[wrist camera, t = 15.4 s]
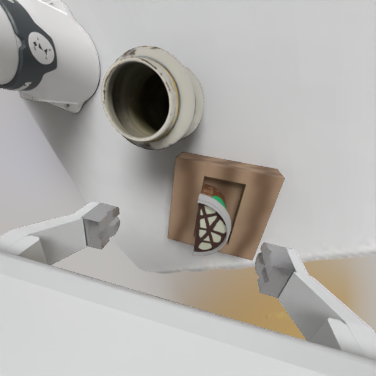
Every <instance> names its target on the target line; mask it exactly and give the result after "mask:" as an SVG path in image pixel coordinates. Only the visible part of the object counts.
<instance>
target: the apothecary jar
mask: <svg viewBox="0 0 376 376" xmlns="http://www.w3.org/2000/svg"><path fill="white" fill-rule="evenodd" d="M101 96H102V104H103V108H104V111H105V113H106V116H107V118H108V119H109V121H110V123H111V124H112V126H113V127H114V128H115V129H116V130H117V131H118V132H119V133H120V134H122V135H123V136H124V137H125V138H126V139H127V140H128V141H130V142H131V143H133V144H134V145H136V146H138V147H141V148H144V149H150V150H159V149H164V148H167V147H170V146H172V145H173V144H175V143H176V142H178V141H179V140H180V139H183V138H185V137H187V136H189V135H190V134H191V133H192V132H193V131H194V130H195V129H196V128H197V127H198V125H199V123H200V121H201V119H202V116H203V112H204V94H203V90H202V87H201V84H200V82H199V80H198V79H197V77H196V76H195V75H194V74H193V73H192V72H191V71H190V70H189V69H188V68H186V67H185V66H183V65H182V64H181V63H180V62H179V61H178V60H177V59H176V58H175V57H174V56H173V55H172V54H170V53H169V52H167V51H165V50H163V49H160V48H157V47H152V46H141V47H136V48H133V49H130V50H129V51H127V52H125V53H124V54H123V55H121V56H120V57H119V58H118V59H117V60H116V62H115V63H114V64H113V65H112V66H111V67H110V68H109V69H108V71H107V72H106V74H105V76H104V79H103V83H102V89H101Z"/></svg>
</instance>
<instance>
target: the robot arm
mask: <svg viewBox="0 0 376 376" xmlns="http://www.w3.org/2000/svg"><path fill="white" fill-rule="evenodd" d="M99 76H100V66H99V59H98V55H97V52H96V49H95V46H94V44H93V42H92V40H91V38H90V37H89V35H88V34H87V33H86V31H85V30H84V29H83V28H82V27H81V26H80V25H79V24H78V23H77V22H76V21H75V20H74V19H73V17H72V15H71V13H70V11H69V9H68V8H67V6H66V5H65V4H64V3H63V2H61V1H59V0H53V1H49V2H43V1H41V0H0V88H3V89H8V90H14V91H19V92H20V96H21V98H24V99H29V100H34V101H39V102H42V101H44V102H47V103H50V104H52V105H55V106H58V107H60V108H63V109H65V110H68V111H70V112H74V113H78V112H79V111H80V109H81V107H82V105H83V103H84V102H85V101H86V100H87V99H89V98H90V97H91V96H92V95H93V93H94V92H95V90H96V88H97V86H98V82H99ZM69 105H70V106H69ZM118 215H119V208H118V207H115V206H111V205H108V204H104V203H100V202H96V201H91V202H90V203H89V204H87V205H86V206H84V207H83V208H81V209H80V210H78V211H77V212H75V213H74V214H72V215H66V216H62V217H58V218H54V219H50V220H46V221H42V222H38V223H34V224H30V225H26V226H23V227H19V228H15V229H12V230H10V231H8V232H6V233H5V234H3V235H1V236H0V376H376V334H375V332H374V331H373V329H372V328H371V327H369V326H368V325H367V324H366V323H365V322H364V321H363V320H361V319H360V318H359V317H358V316H357V315H356V314H355V313H354V312H352V311H351V310H350V309H349V308H348V307H347V306H346V305H344V304H343V303H342V302H341V301H340V300H339V299H338V298H336V297H335V296H334V295H333V294H332V293H331V292H329V291H328V290H327V289H326V288H325V287H324V286H323V285H322V284H320V283H319V282H318V281H317V280H316V279H314V277H311V276H309V274H308V272H307V270H306V268H305V267H304V264H303V263H302V261H301V259H300V257H299V255H298V253H297V251H296V250H295V249H292V248H287V247H281V246H277V245H273V244H268V243H263V244H262V246H261V253H259V254H258V255H257V258H256V262H255V270H256V273H257V275H258V276H259V278H258V286H259V291H260V293H263V294H266V295H269V296H273V297H276V298H278V300H279V301H280V303H281V304H282V305H283V307H284V308H285V310H286V311H287V313H288V314H289V316H290V317H291V319H292V320H293V321H294V323H295V324H296V326H297V327H298V328H299V330H300V331H301V333H302V334H303V335H304V337H305V338H306V340H307V341H306V340H303V339H299V338H296V337H293V336H289V335H286V334H282V333H279V332H275V331H272V330H269V329H265V328H262V327H258V326H255V325H252V324H248V323H245V322H241V321H238V320H235V319H231V318H228V317H224V316H221V315H217V314H214V313H211V312H208V311H204V310H201V309H197V308H194V307H190V306H187V305H184V304H180V303H177V302H174V301H170V300H167V299H163V298H160V297H157V296H153V295H150V294H146V293H143V292H140V291H136V290H133V289H129V288H126V287H123V286H119V285H116V284H112V283H109V282H106V281H102V280H99V279H95V278H92V277H89V276H85V275H81V274H78V273H75V272H71V271H68V270H65V269H61V268H58V267H55V266H51V265H52V264H54V263H56V262H58V261H60V260H62V259H64V258H66V257H68V256H70V255H72V254H74V253H76V252H77V251H79V250H81V249H83V248H85V247H87V246H89V247H93V248H97V249H102V248H103V247H104V246H105V245H106V244H107V243H108V242H109V237H112V236H114V235H115V234H116V232H117V231H118V229H119V225H120V220H119V218H118V217H117V216H118Z"/></svg>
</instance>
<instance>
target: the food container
mask: <svg viewBox="0 0 376 376" xmlns="http://www.w3.org/2000/svg"><path fill="white" fill-rule="evenodd" d="M197 203H199V204H198V216H197V225H196V236H195V245H194V250H193V254H192V255H195V256H206V255H210V254H213V253H215V252H217V251H218V250H220V249H221V248H222V247H223V246H224V244H225V243H226V242H227V240H228V237H229V235H230V231H231V219H230V216H229V214H228V212H227V210H226V204H225V199H224V196H223V195H222V193H221V192H220V191H219V190H218V189H216V188H215V187H213V186H210V185H207V184H205V185H204V188H203V190H202V192H201V194H199V198H198V202H197Z"/></svg>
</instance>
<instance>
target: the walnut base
mask: <svg viewBox="0 0 376 376" xmlns="http://www.w3.org/2000/svg"><path fill="white" fill-rule="evenodd" d="M284 179H285V178H284V177H283V176H282V174H281V173H280V172H279V171H278V169H274V168H268V167H263V166H257V165H252V164H246V163H241V162H236V161H230V160H225V159H219V158H214V157H208V156H203V155H197V154H192V153H186V152H182V153H181V154H180V155H178V156H177V157H176V160H175V170H174V180H173V190H172V200H171V210H170V220H169V230H168V239H172V240H176V241H180V242H184V243H187V244H191V245H195V236H196V225H197V216H198V204H199V203H197V202H198V198H199V194H201V192H202V190H203V188H204V185H205V184H207V185H210V186H213V187H215V188H216V189H218V190H219V191H220V192H221V193H222V195H223V196H224V199H225V204H226V210H227V212H228V214H229V216H230V219H231V231H230V235H229V237H228V240H227V242H226V243H225V244H224V246H223V247H222V248H221V249H220V250H218V252H222V253H226V254H230V255H233V256H237V257H241V258H245V259H249V260H253V258H254V255H255V253H256V250H257V248H258V245H259V243H260V240H261V238H262V235H263V232H264V230H265V227H266V225H267V222H268V220H269V217H270V215H271V212H272V210H273V207H274V205H275V202H276V199H277V197H278V194H279V192H280V189H281V187H282V184H283V182H284Z"/></svg>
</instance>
